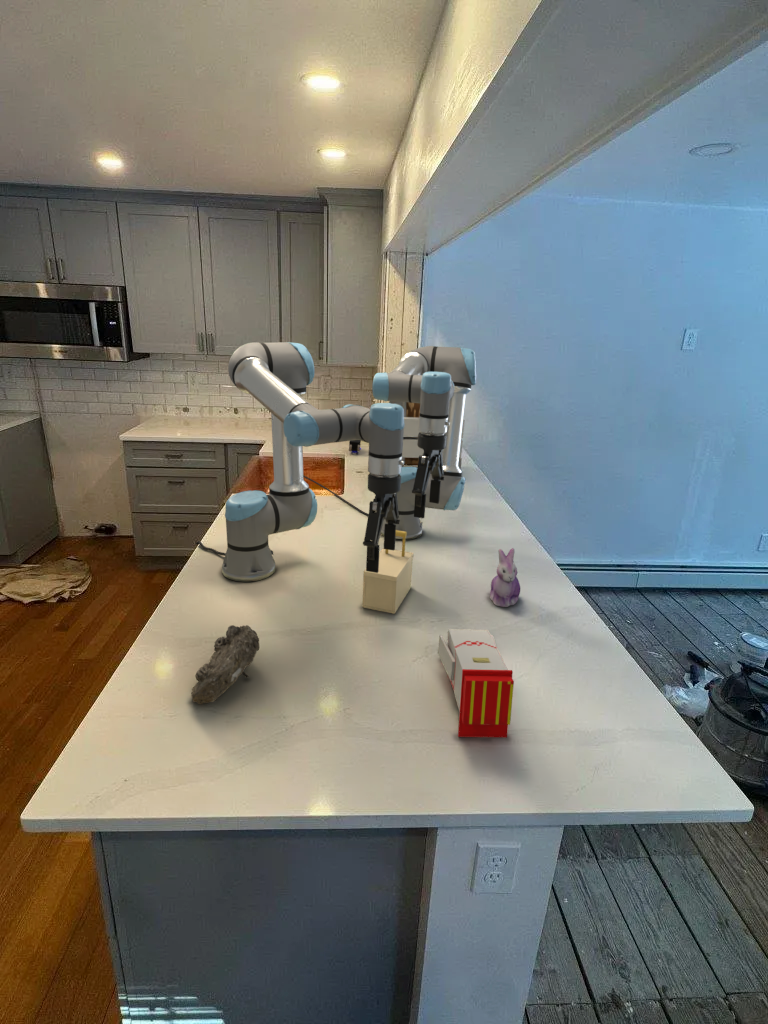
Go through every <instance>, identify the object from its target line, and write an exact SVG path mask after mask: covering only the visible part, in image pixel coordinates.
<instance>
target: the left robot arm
mask: <svg viewBox="0 0 768 1024" xmlns="http://www.w3.org/2000/svg"><path fill="white" fill-rule="evenodd" d="M227 371H228V377H229V378H230V381H231V382H232V384H233V386H235V387H236V388H237V389H238V390H239V391H240V392H242V393H244V394H246V395H247V394H248V395H251V396H252V397H253V398H254V399H255V400H256V401H257V402H259V404H261V405H262V406H263V407H264V408H265V409H266V410H267V411H269V413H270V421H271V442H272V457H273V458H272V461H273V464H272V465H273V466H272V467H273V481H272V482H271V483H270V484H269V486H268V491H269V493H268V494H267V493H266V492H264V491H263V490H257V489H254V490H251V489H250V490H243V491H240V492H237V493H235V494H232V495H231V496H229V498H228V499H227V500H226V502H225V512H224V513H225V514H224V518H225V527H226V544H227V545H226V551H225V552H221V551H218V550H216V549H214V548H211V547H207V546H205V545H204V544H203V543H202V541H200V540H198V541H196V543H195V545H197V546H198V545H199V546H200V547H201V549H203V550H205V551H209V552H212V553H215V554H216V555H219V556H223V557H224V558H223V561H222V564H221V571H222V575H223V576H224V577H225V578H227V579H228V580H231V581H234V582H242V583H244V582H245V583H248V582H258V581H261V580H265V579H267V578H269V577H270V576H272V575H273V574H274V573H275V572H276V562H275V559H274V557H273V556H274V550H272V549H271V548H270V546H269V536H270V535H274V534H279V533H285V532H289V531H294V530H301V529H302V528H305V527H309V526H310V525H312V524H313V522H314V521H315V520H316V517H317V513H318V501H317V498H316V493H315V492H314V491H313V490H312V489H311V488H310V486H309V483H307V482H306V481H305V478H304V477H303V475H304V451H303V450H304V449H303V447H306V448H308V447H312V446H318V445H319V446H320V445H327V444H333V443H334V444H335V443H343V442H349V441H353V440H361V442H364V443H366V444H368V457H367V458H368V460H367V462H368V463H367V472H368V474H367V490H368V491H369V492H371V493H373V494H374V495H375V496H374V498H373V499H372V500H370V501H369V504H368V505H369V506H368V514H369V515H368V516H367V521H366V527H365V533H364V539H363V541H362V545H363V546H364V547H366V561H365V563H366V566H365V569H366V571H369V572H375V573H378V572H379V552H380V544H379V543H380V538H381V530H382V525H383V521H384V519H385V520H386V523H388V524H385V529H384V536H383V548H384V549H388V550H396V540H395V537H396V525H395V524H399V523H400V520H397V519H398V518H399V511H398V502H397V492H399V491H400V489H401V476H400V473H401V468H402V465H404V461H402V451H403V434H404V426H405V423H404V409H403V407H402V406H400V405H398V404H391V403H389V402H375V403H372V404H371V406H370V408H369V407H365V406H364V405H363V406H362V405H360V404H352V403H351V404H345V405H343V406H342V407H339V408H328V409H327V408H325V409H318V408H316V407H315V406H314V405H312V404H311V403H310V402H308V401H307V400H306V399H305V398H304V396H305V395H306V394H307V387H308V386H310V385H311V384H312V383H313V381H314V378H315V364H314V360H313V357H312V355H311V353H310V352H309V349H308V347H307V346H305V345H304V344H302V343H298V342H290V341H285V342H284V341H283V342H282V341H280V342H278V341H277V342H258V341H257V342H256V341H255V342H248V343H244V344H243V345H240V346H239V347H237V349H236V350H235V351H233V353H232V354H231V356H230V358H229V360H228V365H227ZM404 466H405V465H404Z"/></svg>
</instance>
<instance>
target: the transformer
mask: <svg viewBox="0 0 768 1024" xmlns="http://www.w3.org/2000/svg"><path fill="white" fill-rule="evenodd" d="M388 403H391V404H398V405H400V406H402V407H403V409H404V423H405V426H404V434H403V451H402V461H404V465H402V467H405V466H406V467H418V460H419V455H421V456H422V455H423V453H424V450H423V449H421V448H419V447H418V445H417V443H418V434H419V433H420V432H419V430H418V425H419V414H420V403H410V402H396V401H388ZM464 429H465V419H464V418H463V425H462V435H461V444H460V454H459V463H458V467H459V469H460V470H461V471H462V461H463V460H462V453H463V442H464V441H463V440H462V439H463V438H464V431H465V430H464Z"/></svg>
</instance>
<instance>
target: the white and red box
mask: <svg viewBox="0 0 768 1024" xmlns="http://www.w3.org/2000/svg"><path fill="white" fill-rule="evenodd" d="M446 640H447V643H446V641H445V639H444V636H443V635H442V634H439V637H438V646H437V656H438V657H439V659H440V661H441V663H442V666H443V668H444V670H445V672H446V674H447V677H448V679H449V681H450V684H451V687H452V690H453V693H454V697H455V701H456V705H457V708H458V711H459V714H458V715H459V716H458V730H457V731H458V732H457V737H458V738H508V731H509V726H510V725H511V717H512V707H513V697H514V696H513V695H514V684H515V680H514V679H513V673H514V671H513V670H512V669H508V667H507V665H506V662H505V661H504V659H503V658H502V655H501V653H500V651H499V649H498V647H497V643H496V639H495V637H494V635H493V634H491V632H490V631H489V629H467V628H466V629H465V628H463V629H461V628H460V629H459V628H448V630H447V639H446Z"/></svg>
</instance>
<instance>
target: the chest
mask: <svg viewBox="0 0 768 1024" xmlns="http://www.w3.org/2000/svg"><path fill="white" fill-rule="evenodd" d="M413 559H414V557H413V558H412V560H411V561H410V562H409V564H408V565H407V567H406V568H405V570H404V571H403V573H402V574H401V576H400V577H399V579H398V580H397V581H391V580H386V579H380V578H375V577H369V576H364V575H363V578H362V579H363V580H362V606H361V607H362V608H364V609H368V610H372V611H373V610H374V611H378V612H382V613H388V614H392V615H395V614H396V613H397V611H398V609H400V608H399V607H400V606H401V605H402V603H403V602H404V599H405V598H406V596H407V594H408V593H409V591H410V590H411V588H412V575H413V574H412V573H413Z"/></svg>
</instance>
